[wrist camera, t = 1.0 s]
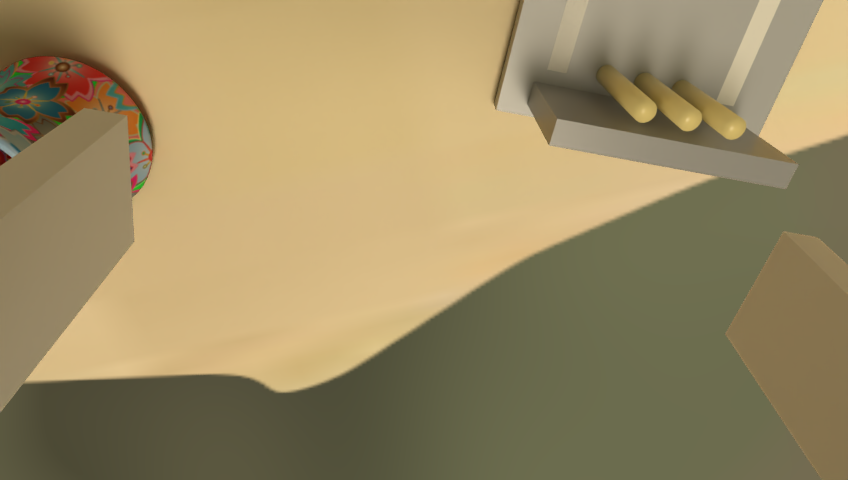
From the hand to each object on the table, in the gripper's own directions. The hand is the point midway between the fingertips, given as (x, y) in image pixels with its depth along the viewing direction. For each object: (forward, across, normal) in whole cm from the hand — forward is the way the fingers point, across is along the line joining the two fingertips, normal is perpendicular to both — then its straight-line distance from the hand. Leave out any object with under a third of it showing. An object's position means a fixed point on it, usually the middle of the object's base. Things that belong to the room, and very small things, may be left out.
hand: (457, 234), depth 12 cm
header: (+21, +11, +4) cm, 24 cm away
